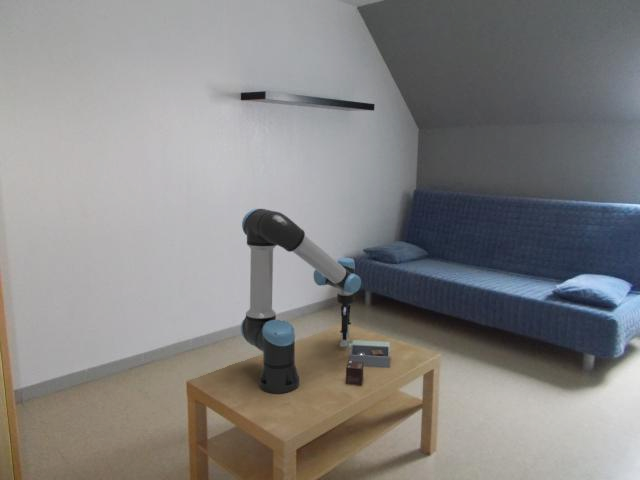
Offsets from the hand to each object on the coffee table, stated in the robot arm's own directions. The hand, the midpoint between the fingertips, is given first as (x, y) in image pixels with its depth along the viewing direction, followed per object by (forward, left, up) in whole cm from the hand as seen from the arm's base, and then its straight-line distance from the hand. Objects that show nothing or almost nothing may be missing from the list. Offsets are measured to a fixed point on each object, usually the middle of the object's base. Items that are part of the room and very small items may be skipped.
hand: (345, 342), depth 221 cm
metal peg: (+8, -16, -1) cm, 18 cm away
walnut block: (+14, -15, -1) cm, 21 cm away
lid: (+9, 0, -2) cm, 9 cm away
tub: (+11, -15, -2) cm, 19 cm away
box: (+6, -34, -2) cm, 35 cm away
